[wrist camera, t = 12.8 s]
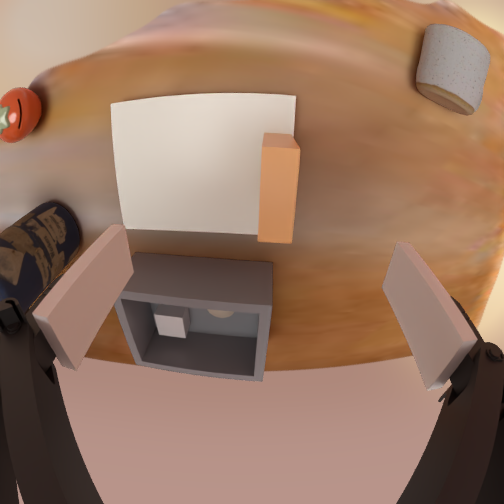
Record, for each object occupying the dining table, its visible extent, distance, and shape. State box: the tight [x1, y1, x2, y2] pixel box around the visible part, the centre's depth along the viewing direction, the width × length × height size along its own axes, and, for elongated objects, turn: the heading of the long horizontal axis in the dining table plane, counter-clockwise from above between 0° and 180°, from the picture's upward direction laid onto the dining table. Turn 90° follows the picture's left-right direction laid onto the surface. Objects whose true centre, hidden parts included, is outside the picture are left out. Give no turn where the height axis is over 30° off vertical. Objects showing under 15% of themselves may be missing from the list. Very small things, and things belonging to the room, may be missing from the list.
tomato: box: [0, 88, 42, 143], centre depth 21 cm, size 7×7×8 cm
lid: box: [111, 93, 300, 244], centre depth 24 cm, size 19×15×11 cm
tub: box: [114, 252, 273, 381], centre depth 35 cm, size 18×14×8 cm
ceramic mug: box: [416, 24, 490, 115], centre depth 18 cm, size 11×8×8 cm
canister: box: [0, 202, 80, 313], centre depth 26 cm, size 10×10×18 cm
